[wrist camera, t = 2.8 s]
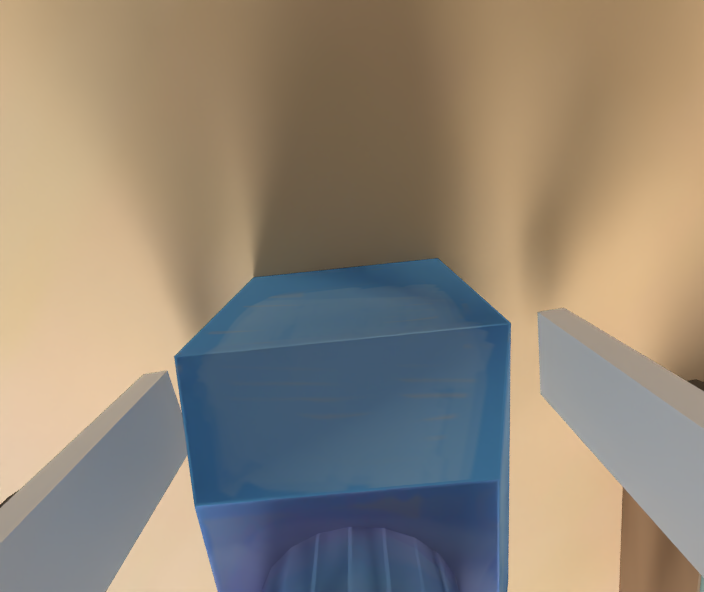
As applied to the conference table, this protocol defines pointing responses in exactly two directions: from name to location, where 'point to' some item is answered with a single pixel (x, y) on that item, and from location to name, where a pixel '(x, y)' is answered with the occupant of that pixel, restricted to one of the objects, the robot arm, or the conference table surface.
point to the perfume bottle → (352, 433)
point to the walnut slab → (651, 556)
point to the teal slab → (702, 584)
